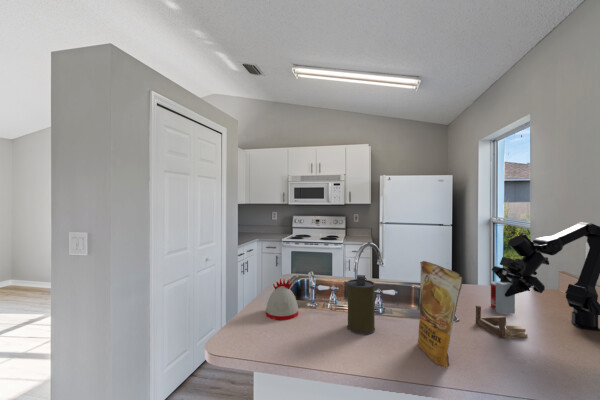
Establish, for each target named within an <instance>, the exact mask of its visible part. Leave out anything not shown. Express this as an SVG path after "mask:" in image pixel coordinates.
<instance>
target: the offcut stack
mask: <svg viewBox="0 0 600 400" xmlns="http://www.w3.org/2000/svg"><path fill="white" fill-rule="evenodd" d="M528 335H529V334H527V333H526V328H525V327H523V326H521V325H505V337H506V338H508V339H515V338H516V339H518V338H528Z"/></svg>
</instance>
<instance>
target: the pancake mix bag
mask: <svg viewBox="0 0 600 400" xmlns="http://www.w3.org/2000/svg"><path fill="white" fill-rule="evenodd" d="M462 286H463V277H462V275H461V274H460V273H458V272H457V271H454V270H451V269H449V268H445V267H443V266H441V265H438V264H436V263H432V262H430V261H426V260H423V261H420V284H419V302H418V303H419V322H418V323H419V325H418V339H417V346H418V348H419V349H420V350H421V351H422V352H423V353H424V354H425V355H426V356H427V357H429V358H430V360H431V361H432V362H433V363H434V364H435V365H437V366H439V367H444V368H445V369H447V370H448V369H449V367H450V361H449V359H450V358H449V355H448V354H449V353H448V352H449V347H450V343H451V335H452V331H453V325H454V321H455V320H454V319H455V315H456V313H457V307H458V302H459V297H460V293H461V290H462Z"/></svg>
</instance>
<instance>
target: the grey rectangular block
mask: <svg viewBox="0 0 600 400" xmlns="http://www.w3.org/2000/svg"><path fill="white" fill-rule="evenodd" d="M512 284H513V282H512V283H510V282H500V281H498V282H496V309H495V312H497V313H499V314H502V315H511V314H512V315H513V314H516V305H515V304H516V294H515V295H512V296H509V297H506V296H505V293H506V292H507V290H508V289H509V288H510V287H511V285H512Z"/></svg>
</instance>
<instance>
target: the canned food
mask: <svg viewBox="0 0 600 400" xmlns="http://www.w3.org/2000/svg"><path fill="white" fill-rule="evenodd" d="M496 282H499V281H495V280H493V281H491V282H490V305H491V307H492V308H493V309H494V310H496Z"/></svg>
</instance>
